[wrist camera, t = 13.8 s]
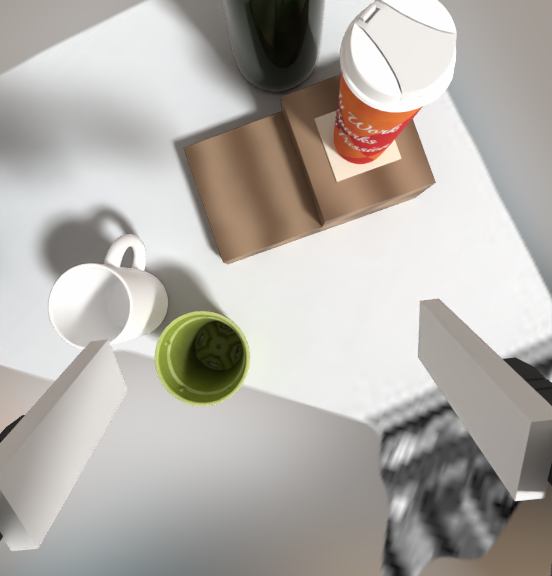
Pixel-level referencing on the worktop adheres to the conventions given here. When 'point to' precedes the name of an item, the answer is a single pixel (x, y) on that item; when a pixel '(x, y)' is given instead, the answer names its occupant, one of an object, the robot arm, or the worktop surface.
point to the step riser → (297, 175)
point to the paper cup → (390, 73)
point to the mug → (108, 298)
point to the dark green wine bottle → (275, 40)
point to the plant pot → (202, 358)
